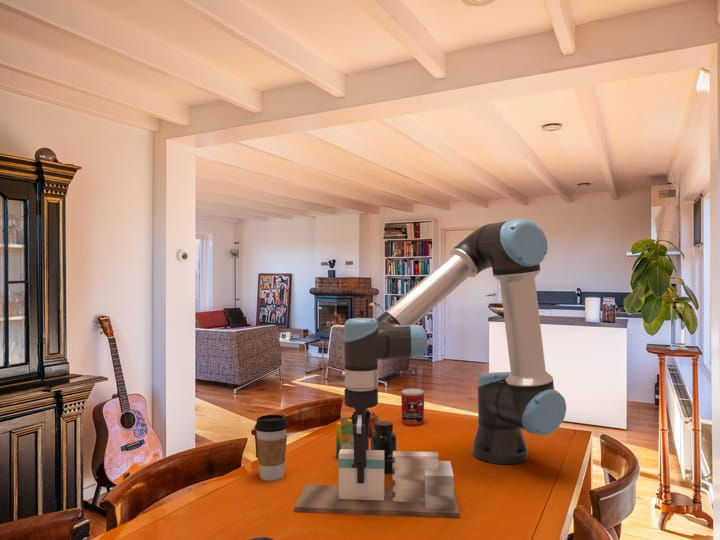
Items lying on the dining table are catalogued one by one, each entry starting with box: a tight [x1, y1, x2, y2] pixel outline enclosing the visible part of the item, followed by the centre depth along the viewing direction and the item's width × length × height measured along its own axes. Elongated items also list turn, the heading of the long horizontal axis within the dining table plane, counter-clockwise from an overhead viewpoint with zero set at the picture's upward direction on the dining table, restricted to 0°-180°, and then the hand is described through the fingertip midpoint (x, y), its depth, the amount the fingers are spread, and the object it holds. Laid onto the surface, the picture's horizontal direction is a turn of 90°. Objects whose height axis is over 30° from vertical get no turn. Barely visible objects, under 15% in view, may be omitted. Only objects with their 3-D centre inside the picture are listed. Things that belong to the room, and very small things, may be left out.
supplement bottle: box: [370, 420, 398, 474], centre depth 135 cm, size 7×7×12 cm
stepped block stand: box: [293, 450, 461, 519], centre depth 115 cm, size 35×12×11 cm, turn 85°
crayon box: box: [335, 415, 354, 459], centre depth 145 cm, size 7×3×12 cm, turn 123°
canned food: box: [400, 388, 425, 427], centre depth 177 cm, size 8×8×11 cm
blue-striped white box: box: [337, 449, 386, 501], centre depth 115 cm, size 10×3×10 cm, turn 85°
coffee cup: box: [254, 414, 289, 482], centre depth 130 cm, size 8×8×15 cm
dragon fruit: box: [349, 411, 379, 436], centre depth 164 cm, size 8×8×12 cm
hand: (361, 492), depth 115 cm, fingers closed on blue-striped white box, 3 cm apart
